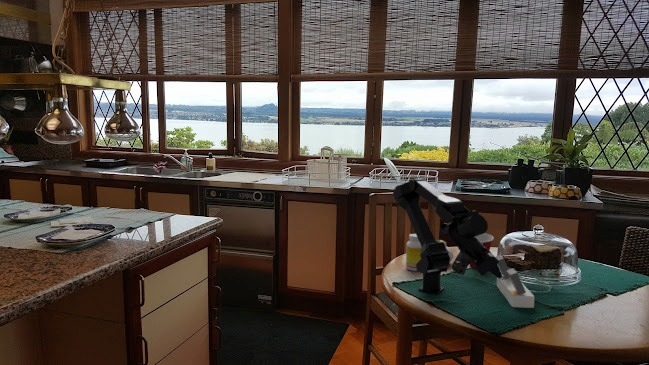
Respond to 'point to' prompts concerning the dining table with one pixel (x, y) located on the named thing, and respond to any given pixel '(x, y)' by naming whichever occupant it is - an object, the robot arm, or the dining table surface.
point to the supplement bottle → (413, 252)
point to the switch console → (515, 294)
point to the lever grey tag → (503, 266)
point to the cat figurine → (447, 249)
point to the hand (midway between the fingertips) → (500, 277)
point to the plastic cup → (486, 240)
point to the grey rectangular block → (516, 281)
